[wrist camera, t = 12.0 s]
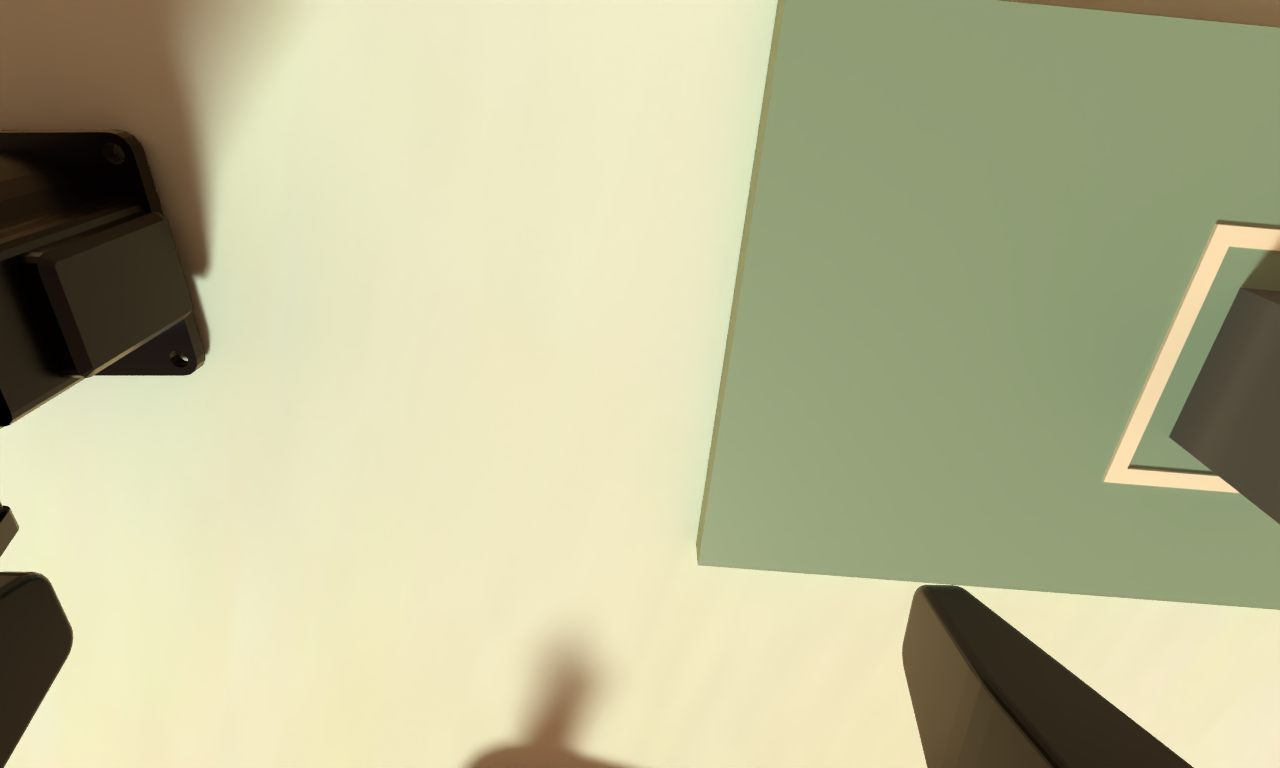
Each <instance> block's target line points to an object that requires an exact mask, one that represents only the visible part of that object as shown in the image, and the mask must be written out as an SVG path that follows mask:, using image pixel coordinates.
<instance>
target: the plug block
mask: <svg viewBox="0 0 1280 768" xmlns="http://www.w3.org/2000/svg"><path fill="white" fill-rule="evenodd" d="M1169 438H1171V439H1172V440H1173V441H1175V442H1176V443H1177V444H1178V445H1180V446H1181V447H1182V448H1183V449H1185V450H1186V451H1187V452H1189V453H1190V454H1191V455H1192V456H1194V457H1195V458H1196V459H1197V460H1199V461H1200V462H1201V463H1202V464H1204V465H1205V466H1206V467H1208V468H1209V469H1210V470H1211V471H1213V472H1214V473H1215V474H1216V475H1218V476H1219V477H1220V478H1221V479H1223V480H1224V481H1225V482H1227V483H1228V484H1229V485H1230V486H1232V487H1233V488H1234V489H1235V490H1237V491H1238V492H1239V493H1240V494H1242V495H1243V496H1244V497H1246V498H1247V499H1248V500H1249V501H1251V502H1252V503H1253V504H1254V505H1256V506H1257V507H1258V508H1259V509H1261V510H1262V511H1263V512H1265V513H1266V514H1267V515H1268V516H1270V517H1271V518H1272V519H1273V520H1275V521H1276V522H1277V523H1279V524H1280V291H1272V290H1261V289H1250V288H1240V289H1239V291H1238V293H1237V295H1236V297H1235V299H1234V301H1233V304H1232V306H1231V308H1230V310H1229V312H1228V314H1227V316H1226V318H1225V320H1224V322H1223V324H1222V327H1221V329H1220V331H1219V333H1218V335H1217V337H1216V339H1215V341H1214V343H1213V345H1212V348H1211V350H1210V352H1209V354H1208V356H1207V358H1206V360H1205V362H1204V364H1203V366H1202V369H1201V371H1200V373H1199V375H1198V377H1197V379H1196V381H1195V383H1194V385H1193V387H1192V389H1191V392H1190V394H1189V396H1188V398H1187V400H1186V402H1185V404H1184V406H1183V408H1182V410H1181V413H1180V415H1179V417H1178V419H1177V421H1176V423H1175V425H1174V427H1173V429H1172V431H1171V434H1170V436H1169Z"/></svg>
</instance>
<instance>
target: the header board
mask: <svg viewBox="0 0 1280 768" xmlns="http://www.w3.org/2000/svg"><path fill="white" fill-rule="evenodd" d="M1240 288H1250V289H1261V290H1272V291H1280V28H1278V27H1268V26H1257V25H1247V24H1237V23H1226V22H1216V21H1206V20H1196V19H1185V18H1175V17H1165V16H1155V15H1144V14H1134V13H1124V12H1113V11H1103V10H1093V9H1083V8H1072V7H1062V6H1052V5H1042V4H1031V3H1021V2H1011V1H1000V0H778V4H777V11H776V18H775V24H774V31H773V38H772V44H771V51H770V57H769V64H768V71H767V77H766V84H765V91H764V97H763V104H762V111H761V117H760V124H759V131H758V137H757V144H756V150H755V157H754V164H753V170H752V177H751V184H750V190H749V197H748V204H747V210H746V217H745V224H744V230H743V237H742V243H741V250H740V257H739V263H738V270H737V277H736V283H735V290H734V297H733V303H732V310H731V316H730V323H729V330H728V336H727V343H726V350H725V356H724V363H723V370H722V376H721V383H720V390H719V396H718V403H717V409H716V416H715V423H714V429H713V436H712V443H711V449H710V456H709V463H708V469H707V476H706V483H705V489H704V496H703V502H702V509H701V516H700V522H699V529H698V536H697V542H696V548H697V560H698V565H702V566H715V567H728V568H741V569H754V570H767V571H781V572H794V573H807V574H820V575H833V576H846V577H859V578H872V579H885V580H898V581H911V582H924V583H937V584H951V585H964V586H977V587H990V588H1003V589H1016V590H1029V591H1042V592H1055V593H1068V594H1081V595H1094V596H1107V597H1121V598H1134V599H1147V600H1160V601H1173V602H1186V603H1199V604H1212V605H1225V606H1238V607H1251V608H1264V609H1277V610H1280V524H1279V523H1277V522H1276V521H1275V520H1273V519H1272V518H1271V517H1270V516H1268V515H1267V514H1266V513H1265V512H1263V511H1262V510H1261V509H1259V508H1258V507H1257V506H1256V505H1254V504H1253V503H1252V502H1251V501H1249V500H1248V499H1247V498H1246V497H1244V496H1243V495H1242V494H1240V493H1239V492H1238V491H1237V490H1235V489H1234V488H1233V487H1232V486H1230V485H1229V484H1228V483H1227V482H1225V481H1224V480H1223V479H1221V478H1220V477H1219V476H1218V475H1216V474H1215V473H1214V472H1213V471H1211V470H1210V469H1209V468H1208V467H1206V466H1205V465H1204V464H1202V463H1201V462H1200V461H1199V460H1197V459H1196V458H1195V457H1194V456H1192V455H1191V454H1190V453H1189V452H1187V451H1186V450H1185V449H1183V448H1182V447H1181V446H1180V445H1178V444H1177V443H1176V442H1175V441H1173V440H1172V439H1171V438H1169V436H1170V434H1171V431H1172V429H1173V427H1174V425H1175V423H1176V421H1177V419H1178V417H1179V415H1180V413H1181V410H1182V408H1183V406H1184V404H1185V402H1186V400H1187V398H1188V396H1189V394H1190V392H1191V389H1192V387H1193V385H1194V383H1195V381H1196V379H1197V377H1198V375H1199V373H1200V371H1201V369H1202V366H1203V364H1204V362H1205V360H1206V358H1207V356H1208V354H1209V352H1210V350H1211V348H1212V345H1213V343H1214V341H1215V339H1216V337H1217V335H1218V333H1219V331H1220V329H1221V327H1222V324H1223V322H1224V320H1225V318H1226V316H1227V314H1228V312H1229V310H1230V308H1231V306H1232V304H1233V301H1234V299H1235V297H1236V295H1237V293H1238V291H1239V289H1240Z"/></svg>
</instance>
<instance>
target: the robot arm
mask: <svg viewBox="0 0 1280 768" xmlns="http://www.w3.org/2000/svg"><path fill="white" fill-rule="evenodd" d="M114 144H116V145H118V146H119V147H120V148H121V149H122V151H123V153H124V161H122V160H121V159H120V158H118V157H117V156H116V154H115V152H114ZM192 309H193V305H192V301H191V298H190V295H189V291H188V288H187V285H186V281H185V278H184V275H183V271H182V268H181V265H180V261H179V258H178V254H177V251H176V248H175V244H174V241H173V238H172V234H171V231H170V228H169V224H168V222H167V220H166V219H165V218H164V216H163V212H162V209H161V206H160V202H159V199H158V196H157V192H156V189H155V186H154V182H153V179H152V175H151V172H150V169H149V165H148V162H147V159H146V155H145V152H144V150H143V148H142V146H141V144H140V142H139V141H138V140H137V139H136V138H135V137H134V136H133V135H131V134H129V133H127V132H125V131H120V130H2V131H0V429H1V428H2V427H4V426H8V425H10V424H12V423H14V422H15V421H17V420H18V419H20V418H22V417H23V416H25V415H27V414H28V413H30V412H31V411H33V410H35V409H36V408H38V407H39V406H41V405H43V404H44V403H46V402H48V401H49V400H51V399H52V398H54V397H56V396H57V395H59V394H61V393H62V392H64V391H65V390H67V389H69V388H70V387H72V386H73V385H75V384H77V383H78V382H80V381H82V380H83V379H85V378H88V377H91V376H93V375H189V374H191V373H193V372H194V371H195V370H197V369H198V368H199V367H201V366H202V365H203V364H204V361H205V353H204V349H203V346H202V343H201V339H200V336H199V333H198V329H197V326H196V323H195V319H194V316H193V313H192ZM178 351H180V352H182V353H184V354H185V355H186V356H187V358H188V361H185V360H183V359H182V358H181V357H180V356H179V354H178ZM18 530H19V526H18V524H17V522H16V520H15V517H14V515H13V513H12V511H11V509H10V508H9V507H8V506H2V504H1V502H0V557H1V555H2V554H3V552H4V551H5V549H6V548H7V546H8V545H9V543H10V542H11V540H12V539H13V537H14V536H15V534H16V533H17V531H18ZM72 644H73V630H72V627H71V625H70V623H69V621H68V619H67V616H66V614H65V612H64V610H63V608H62V606H61V604H60V602H59V599H58V597H57V595H56V593H55V591H54V589H53V587H52V584H51V583H50V581H49V580H48V579H47V578H46V577H45V576H43V575H42V574H39V573H36V572H0V768H4V766H5V765H6V763H7V761H8V759H9V758H10V756H11V754H12V753H13V751H14V749H15V747H16V746H17V744H18V742H19V740H20V739H21V737H22V735H23V733H24V732H25V730H26V728H27V727H28V725H29V723H30V721H31V720H32V718H33V716H34V714H35V713H36V711H37V709H38V708H39V706H40V704H41V702H42V701H43V699H44V697H45V695H46V694H47V692H48V690H49V688H50V687H51V685H52V683H53V682H54V680H55V678H56V676H57V675H58V673H59V671H60V669H61V668H62V666H63V664H64V662H65V661H66V659H67V657H68V655H69V653H70V651H71V647H72ZM902 656H903V666H904V671H905V675H906V679H907V683H908V688H909V692H910V696H911V700H912V704H913V709H914V713H915V717H916V721H917V726H918V730H919V734H920V738H921V742H922V747H923V751H924V755H925V759H926V764H927V768H1193V767H1192V766H1191V765H1190V764H1188V763H1187V762H1186V761H1184V760H1183V759H1182V758H1181V757H1179V756H1178V755H1177V754H1175V753H1174V752H1173V751H1172V750H1170V749H1169V748H1168V747H1167V746H1165V745H1164V744H1163V743H1161V742H1160V741H1159V740H1158V739H1156V738H1155V737H1154V736H1152V735H1151V734H1150V733H1149V732H1147V731H1146V730H1145V729H1143V728H1142V727H1141V726H1140V725H1138V724H1137V723H1136V722H1134V721H1133V720H1132V719H1131V718H1129V717H1128V716H1127V715H1125V714H1124V713H1123V712H1122V711H1120V710H1119V709H1118V708H1116V707H1115V706H1114V705H1113V704H1111V703H1110V702H1109V701H1107V700H1106V699H1105V698H1104V697H1102V696H1101V695H1100V694H1098V693H1097V692H1096V691H1095V690H1093V689H1092V688H1091V687H1089V686H1088V685H1087V684H1086V683H1084V682H1083V681H1082V680H1080V679H1079V678H1078V677H1077V676H1075V675H1074V674H1073V673H1072V672H1070V671H1069V670H1068V669H1066V668H1065V667H1064V666H1063V665H1061V664H1060V663H1059V662H1057V661H1056V660H1055V659H1054V658H1052V657H1051V656H1050V655H1048V654H1047V653H1046V652H1045V651H1043V650H1042V649H1041V648H1039V647H1038V646H1037V645H1036V644H1034V643H1033V642H1032V641H1030V640H1029V639H1028V638H1027V637H1025V636H1024V635H1023V634H1021V633H1020V632H1019V631H1018V630H1016V629H1015V628H1014V627H1012V626H1011V625H1010V624H1009V623H1007V622H1006V621H1005V620H1003V619H1002V618H1001V617H1000V616H998V615H997V614H996V613H994V612H993V611H992V610H991V609H989V608H988V607H987V606H985V605H984V604H983V603H982V602H980V601H979V600H978V599H977V598H975V597H974V596H973V595H971V594H970V593H969V592H968V591H966V590H964V589H963V588H961V587H959V586H953V585H923V586H921V587H919V588H918V589H917V590H916V592H915V594H914V596H913V600H912V605H911V609H910V614H909V618H908V623H907V627H906V632H905V636H904V641H903V649H902Z"/></svg>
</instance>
